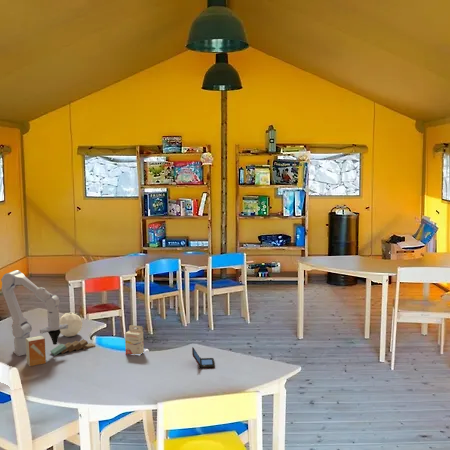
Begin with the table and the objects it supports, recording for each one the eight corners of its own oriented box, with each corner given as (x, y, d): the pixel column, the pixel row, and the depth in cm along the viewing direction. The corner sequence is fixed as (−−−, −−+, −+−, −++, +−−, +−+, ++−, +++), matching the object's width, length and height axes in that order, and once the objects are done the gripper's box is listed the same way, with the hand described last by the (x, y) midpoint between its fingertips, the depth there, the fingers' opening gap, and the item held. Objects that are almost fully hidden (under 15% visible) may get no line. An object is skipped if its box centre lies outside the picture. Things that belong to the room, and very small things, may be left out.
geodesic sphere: (76, 319, 342) (64, 304, 334) (92, 323, 334) (80, 307, 325) (61, 339, 333) (48, 324, 325) (77, 343, 325) (64, 328, 317)
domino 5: (83, 347, 305) (95, 345, 310) (79, 344, 309) (91, 343, 314) (83, 350, 305) (95, 348, 310) (79, 347, 309) (91, 345, 314)
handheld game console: (214, 368, 275) (214, 354, 274) (192, 369, 274) (192, 354, 273) (213, 359, 287) (213, 345, 286) (192, 360, 286) (192, 346, 286)
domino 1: (53, 353, 295) (65, 345, 299) (50, 351, 299) (61, 343, 303) (55, 355, 296) (66, 348, 299) (51, 353, 300) (63, 345, 303)
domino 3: (68, 350, 300) (79, 342, 304) (65, 347, 304) (76, 340, 308) (69, 352, 301) (81, 344, 304) (66, 350, 305) (77, 342, 308)
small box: (29, 366, 281) (28, 341, 279) (26, 363, 286) (25, 338, 284) (46, 363, 285) (45, 338, 284) (42, 359, 290) (41, 335, 289)
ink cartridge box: (125, 354, 296) (124, 327, 294) (129, 351, 301) (128, 324, 299) (139, 356, 293) (138, 328, 292) (144, 353, 298) (143, 326, 296)
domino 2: (61, 351, 298) (72, 344, 301) (57, 349, 302) (68, 341, 305) (62, 354, 298) (73, 346, 302) (58, 351, 302) (70, 344, 306)
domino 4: (75, 348, 303) (87, 341, 306) (72, 346, 307) (83, 339, 310) (77, 350, 303) (88, 343, 307) (73, 348, 307) (84, 341, 311)
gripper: (42, 323, 289) (43, 348, 290) (69, 318, 298) (71, 343, 299) (37, 320, 295) (39, 345, 296) (64, 315, 303) (65, 339, 305)
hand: (54, 344), depth 298 cm, fingers closed
